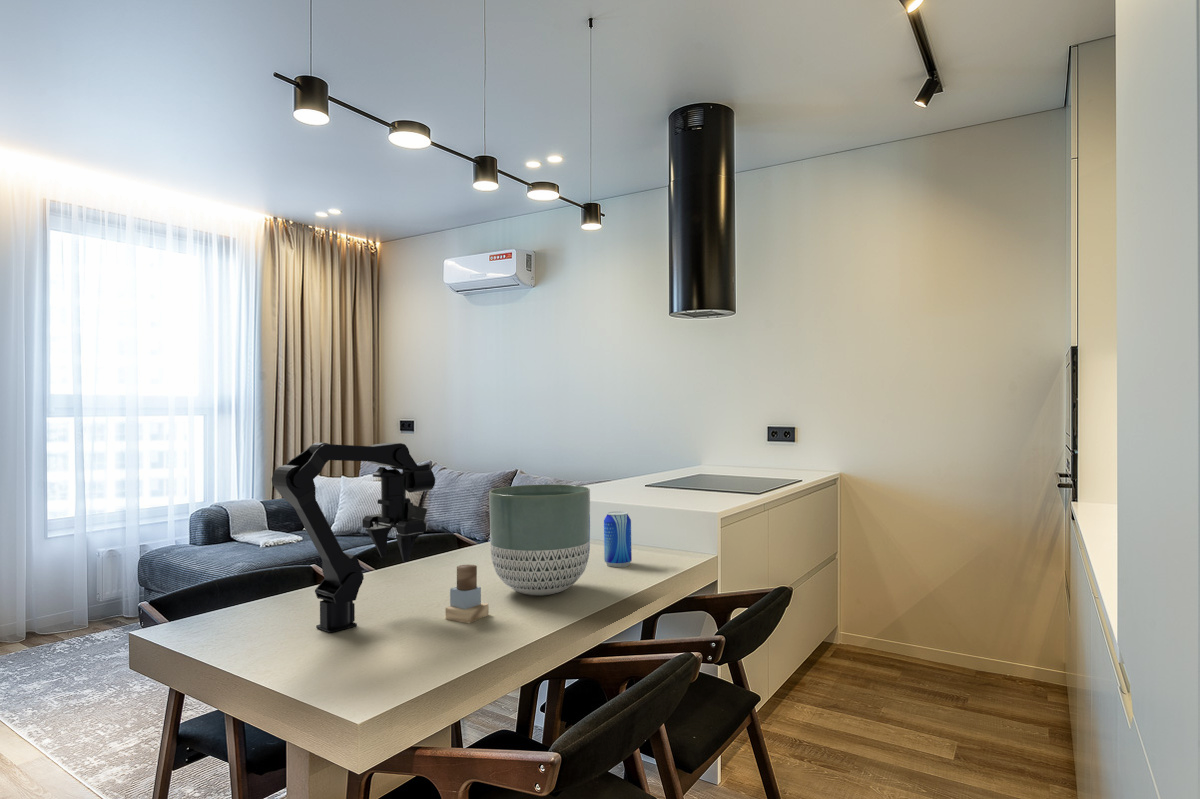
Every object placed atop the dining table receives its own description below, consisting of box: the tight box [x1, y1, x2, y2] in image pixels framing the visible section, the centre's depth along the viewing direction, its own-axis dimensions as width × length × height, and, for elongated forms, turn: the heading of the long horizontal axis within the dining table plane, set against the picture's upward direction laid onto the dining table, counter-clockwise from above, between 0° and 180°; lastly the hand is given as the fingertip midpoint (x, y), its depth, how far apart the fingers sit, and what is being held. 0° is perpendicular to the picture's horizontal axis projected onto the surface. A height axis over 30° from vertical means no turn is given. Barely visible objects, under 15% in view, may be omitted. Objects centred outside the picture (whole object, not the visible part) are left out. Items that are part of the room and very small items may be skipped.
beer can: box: [603, 510, 633, 568], centre depth 211 cm, size 8×8×16 cm
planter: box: [488, 483, 591, 596], centre depth 181 cm, size 27×27×27 cm
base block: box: [445, 602, 490, 624], centre depth 159 cm, size 7×7×3 cm
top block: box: [449, 586, 482, 609], centre depth 160 cm, size 5×5×4 cm
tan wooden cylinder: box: [456, 564, 478, 590], centre depth 160 cm, size 5×5×5 cm
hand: (394, 559), depth 165 cm, fingers open, 9 cm apart
